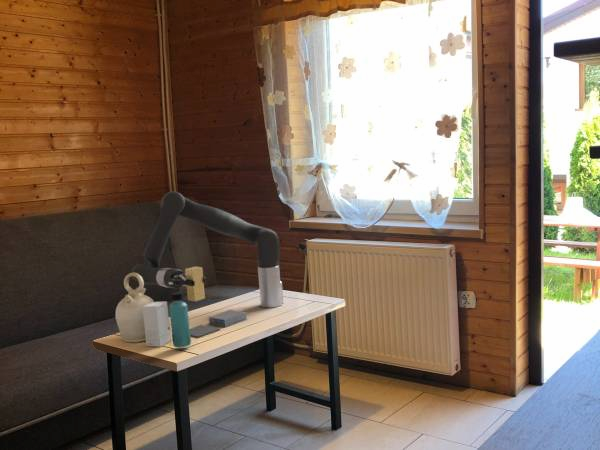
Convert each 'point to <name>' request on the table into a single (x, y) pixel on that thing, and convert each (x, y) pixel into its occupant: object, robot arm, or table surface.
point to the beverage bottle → (179, 321)
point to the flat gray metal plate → (202, 331)
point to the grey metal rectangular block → (227, 318)
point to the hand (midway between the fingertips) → (199, 281)
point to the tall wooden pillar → (197, 290)
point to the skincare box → (156, 324)
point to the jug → (132, 311)
